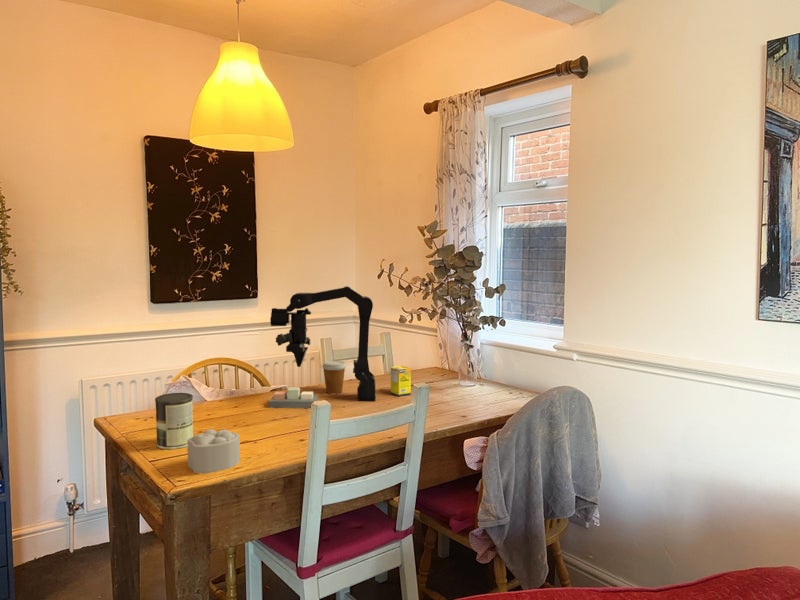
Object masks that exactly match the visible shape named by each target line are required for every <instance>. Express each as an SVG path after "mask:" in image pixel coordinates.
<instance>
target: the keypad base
mask: <svg viewBox="0 0 800 600" xmlns="http://www.w3.org/2000/svg"><path fill="white" fill-rule="evenodd" d="M318 399H319V395H318V394H313V400H301V394H300V399H299V400H287V398H286V399H274V395H273V396H272V397H271V398H269V401H268V409H269V408H270V409H271V408H272V409H311V408H310V407H311V404H312V403H313V402H314V401H317V400H318ZM318 401H319V400H318ZM318 401H317V402H318Z"/></svg>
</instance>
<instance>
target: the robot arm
mask: <svg viewBox="0 0 800 600" xmlns="http://www.w3.org/2000/svg"><path fill="white" fill-rule="evenodd" d="M343 298H345V299H348V300H349V301H350V302H352V303H353V304H354V305H356V306H357V310H358V317H359V330H358V331H359V334H358V349H357V350H358V355H357V358H356V359H353V368H352V373H353V374H354V377H355V378H356V380H357V381H359V383H358V386H357V391H356V393H357V394H356V395H357V396H356V397H357V400H358V401H359V402H363V401H366V402H368V401H369V402H375V401H376V399H377V395H376V378H375V375H374V374H373V372H371V371H370V365H369V359H368V354H369V334H370V333H369V332H370V331H369V330H370V320H371V315H372V311H373V307H374V303H373V300H372V298H371V297H369V296H363V295H361V294H360V293H359V292H357V291H356V290H354V289H352V288H351V287H350V286H344V287H337V288H333V289H329V290H321V291H318V292H317V291H316V292H296V293H294V294H292V295H291V297H290V300H289V304H288V305H287V306H286V308H276V307H273V308H271V312H270V319H269V321H270V327H287V325H288V324H290V329H289V331H288V332H287V333H284V334H283V333H280V334H277V336H276V337H275V343H277V346H281V345H283V344H286V343H288V344H287V345H286V346H285V351H286V353H292V354H293V355H294V359H295V363H296V366H297V367H298V368H301V366H302V364H303V361H304V358H305V355H306V353H307V351H308V349H309V347H306V345H307V346H310V345H311V338H310V337H309V336H307V332H308V328H307V316H308V315H311V314H312V311H311V310H309V308H308V306H310V305H314V304H316V303H321V302H326V301H331V300H338V299H343ZM304 308H305V309H304ZM294 310H296V311H295V312H293V311H294Z"/></svg>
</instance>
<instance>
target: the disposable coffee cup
mask: <svg viewBox="0 0 800 600" xmlns="http://www.w3.org/2000/svg"><path fill="white" fill-rule="evenodd" d="M346 368H347V365H346V362H344V361H343V360H342V361H341V360H328V361H324V362H323V364H322V369H323V375H324V382H325V383H324V384H325V390H326V393H327V392H328V393H327V394H330V393H338V394H341V393H342V392H343V387H344V377H345V369H346ZM340 392H341V393H340Z"/></svg>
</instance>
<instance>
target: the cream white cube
mask: <svg viewBox="0 0 800 600" xmlns="http://www.w3.org/2000/svg"><path fill="white" fill-rule="evenodd" d="M300 395H301V400H313V395H314V391H301V392H300Z"/></svg>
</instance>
